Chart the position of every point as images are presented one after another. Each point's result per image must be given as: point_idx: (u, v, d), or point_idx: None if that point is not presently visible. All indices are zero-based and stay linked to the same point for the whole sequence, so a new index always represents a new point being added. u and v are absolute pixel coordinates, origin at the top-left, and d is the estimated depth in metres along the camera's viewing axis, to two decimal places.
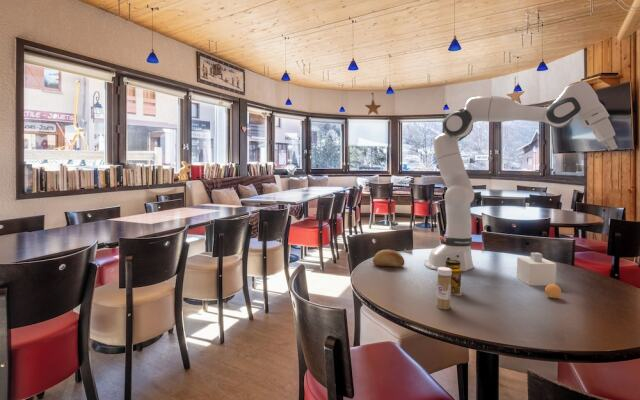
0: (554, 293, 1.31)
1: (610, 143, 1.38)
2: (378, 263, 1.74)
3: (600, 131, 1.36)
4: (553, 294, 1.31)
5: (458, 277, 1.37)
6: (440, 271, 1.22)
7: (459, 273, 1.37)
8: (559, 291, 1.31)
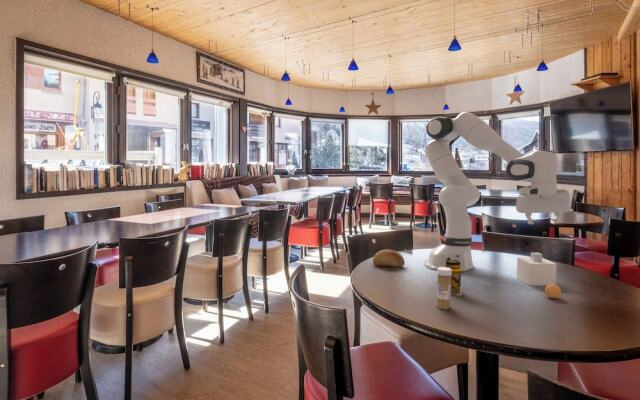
0: (554, 293, 1.31)
1: (526, 216, 1.49)
2: (378, 263, 1.74)
3: (516, 203, 1.50)
4: (553, 294, 1.31)
5: (458, 277, 1.37)
6: (440, 271, 1.22)
7: (459, 273, 1.37)
8: (559, 291, 1.31)
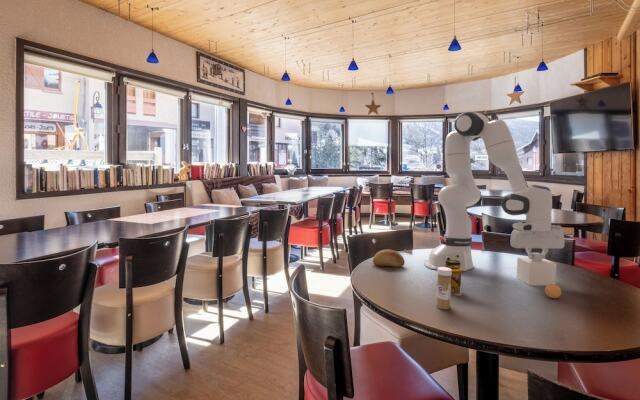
0: (554, 293, 1.31)
1: None
2: (378, 263, 1.74)
3: None
4: (553, 294, 1.31)
5: (458, 277, 1.37)
6: (440, 271, 1.22)
7: (459, 273, 1.37)
8: (559, 291, 1.31)
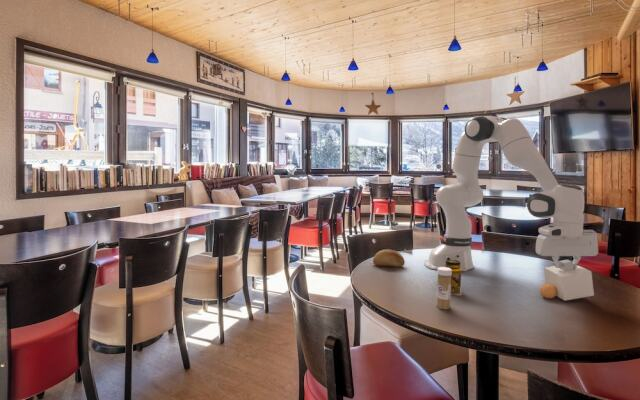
0: (550, 295, 1.31)
1: (553, 259, 1.32)
2: (378, 263, 1.74)
3: (536, 244, 1.33)
4: (550, 296, 1.31)
5: (458, 277, 1.37)
6: (440, 271, 1.22)
7: (459, 273, 1.37)
8: (553, 290, 1.31)
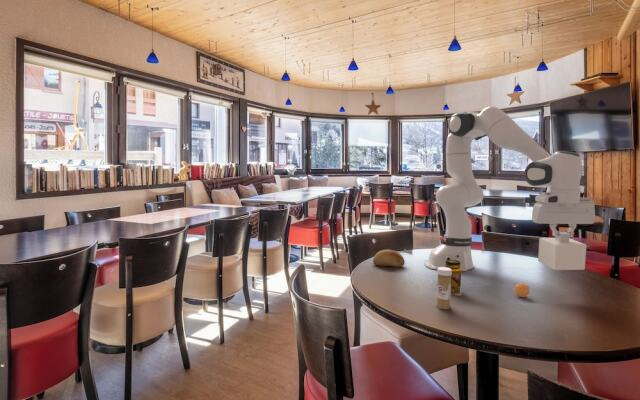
0: (525, 290, 1.32)
1: (551, 227, 1.31)
2: (379, 263, 1.74)
3: (532, 212, 1.32)
4: (524, 289, 1.32)
5: (458, 277, 1.37)
6: (440, 271, 1.22)
7: (459, 273, 1.37)
8: (524, 295, 1.32)
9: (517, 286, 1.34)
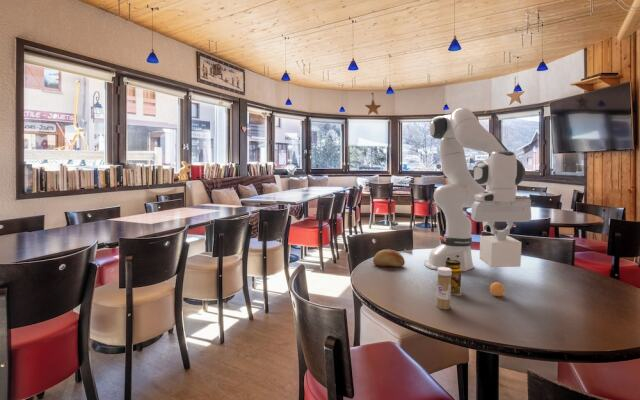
0: (499, 293, 1.33)
1: (489, 225, 1.34)
2: (379, 263, 1.74)
3: None
4: (500, 294, 1.33)
5: (458, 277, 1.37)
6: (440, 271, 1.22)
7: (459, 273, 1.37)
8: (498, 287, 1.33)
9: None
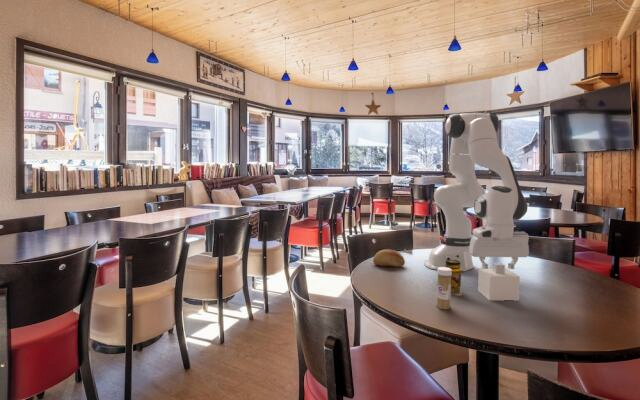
0: None
1: (480, 260, 1.35)
2: (379, 263, 1.74)
3: (469, 245, 1.36)
4: None
5: (458, 277, 1.37)
6: (440, 271, 1.22)
7: (459, 273, 1.37)
8: None
9: None
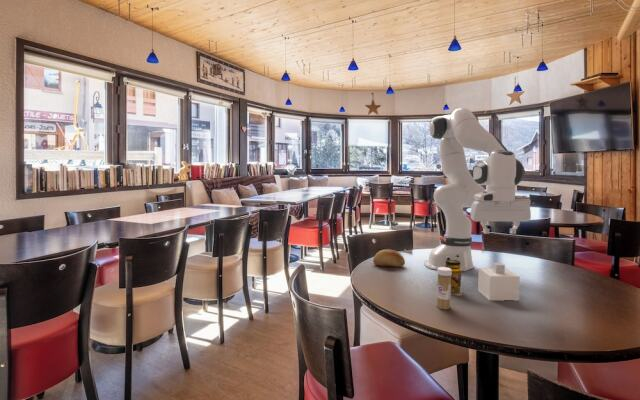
0: None
1: (482, 225, 1.34)
2: (379, 263, 1.74)
3: (471, 210, 1.35)
4: None
5: (458, 277, 1.37)
6: (440, 271, 1.22)
7: (459, 273, 1.37)
8: None
9: None
